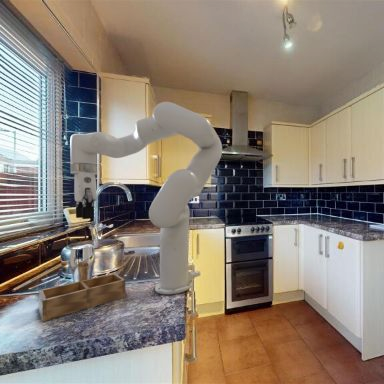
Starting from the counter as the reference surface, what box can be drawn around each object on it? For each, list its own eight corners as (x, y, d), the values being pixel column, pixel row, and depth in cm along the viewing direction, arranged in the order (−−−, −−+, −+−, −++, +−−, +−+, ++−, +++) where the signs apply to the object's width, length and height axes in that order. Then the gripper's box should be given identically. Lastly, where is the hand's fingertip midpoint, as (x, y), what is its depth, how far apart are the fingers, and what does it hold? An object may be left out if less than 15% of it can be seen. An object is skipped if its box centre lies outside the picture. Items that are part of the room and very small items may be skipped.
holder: (115, 288, 80) (115, 273, 81) (125, 296, 74) (125, 279, 74) (38, 309, 66) (38, 290, 66) (42, 321, 59) (42, 300, 59)
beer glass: (81, 294, 76) (81, 248, 76) (64, 292, 77) (64, 248, 78) (99, 286, 83) (99, 244, 83) (83, 285, 84) (83, 244, 84)
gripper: (103, 168, 78) (104, 218, 78) (90, 172, 90) (91, 216, 89) (76, 166, 73) (76, 220, 72) (66, 171, 84) (66, 218, 84)
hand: (84, 218), depth 81 cm, fingers open, 9 cm apart
